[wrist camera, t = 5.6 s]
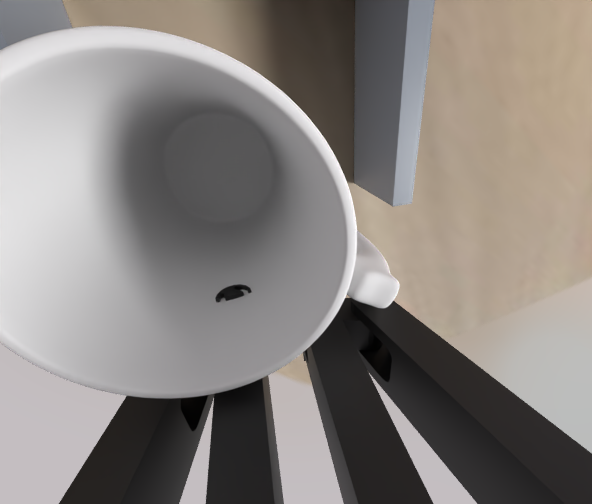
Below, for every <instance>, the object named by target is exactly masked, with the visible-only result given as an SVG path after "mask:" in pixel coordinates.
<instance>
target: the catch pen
mask: <svg viewBox="0 0 592 504" xmlns="http://www.w3.org/2000/svg"><path fill="white" fill-rule="evenodd" d="M434 3H435V0H355V105H354V183H355V184H356V185H358V186H360V187H361V188H363V189H365V190H366V191H368V192H370V193H371V194H373V195H375V196H376V197H378V198H380V199H381V200H383V201H385V202H386V203H388V204H390V205H391V206H398V205H405V204H411V203H412V197H413V188H414V180H415V171H416V162H417V153H418V144H419V135H420V126H421V118H422V109H423V100H424V91H425V82H426V73H427V65H428V56H429V47H430V38H431V29H432V20H433V11H434ZM68 28H72V25H71V23H70V20H69V18H68V15H67V12H66V10H65V7H64V5H63V2H62V0H0V50H1V49H3V48H5V47H8V46H10V45H12V44H14V43H17V42H19V41H22V40H24V39H27V38H30V37H33V36H37V35H40V34H44V33H48V32H52V31H57V30H62V29H68Z"/></svg>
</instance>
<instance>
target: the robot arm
mask: <svg viewBox="0 0 592 504" xmlns="http://www.w3.org/2000/svg"><path fill="white" fill-rule="evenodd" d="M241 290H246V291H248V293H251V292H252V291H251V289H250V287H248V286H246V285H241V284H238V285H232V286H228V287H226V288H224V289H222V290H221V291H220V292H219V293H218V294H217V296H216V298H215V299H216V302H217V303H218V302H220V301H221V299H222V298H225V300H226V301H229V300H233V299H236V298H239V297H242V296H244V292H243V291H241ZM303 355H304V361H306V363H307V367H308V370H309V374H310V378H311V382H312V385H313V389H314V393H315V397H316V400H317V404H318V408H319V411H320V416H321V419H322V423H323V427H324V431H325V434H326V438H327V442H328V446H329V449H330V453H331V457H332V460H333V464H334V468H335V472H336V476H337V480H338V483H339V487H340V491H341V494H342V498H343V502H344V504H433V502H432V500H431V498H430V496H429V494H428V492H427V490H426V488H425V486H424V484H423V482H422V480H421V478H420V476H419V474H418V472H417V470H416V468H415V466H414V464H413V462H412V460H411V458H410V456H409V454H408V452H407V449H406V447H405V446H404V443H403V442H402V439H401V437H400V435H399V433H398V431H397V430H396V427H395V425H394V423H393V421H392V419H391V417H390V415H389V413H388V411H387V409H386V407H385V405H384V403H383V401H382V399H381V397H380V395H379V393H378V391H377V389H376V387H375V385H374V383H373V381H372V379H371V377H370V375H369V373H370V374H371V375H372V377H373V378H374V379H375V380H376V381H377V383H378V384H379V385H380V386H381V387H382V389H383V390H384V391H385V392H386V393H387V395H388V396H389V397H390V398H391V399H392V400H393V402H394V403H395V404H396V406H397V407H398V408H399V409H400V410H401V412H402V413H403V414H404V415H405V416H406V418H407V419H408V420H409V421H410V423H411V424H412V425H413V426H414V427H415V429H416V430H417V431H418V432H419V433H420V435H421V436H422V437H423V438H424V439H425V441H426V442H427V443H428V444H429V445H430V447H431V448H432V449H433V450H434V452H435V453H436V454H437V455H438V456H439V457H440V459H441V460H442V461H443V462H444V464H445V465H446V466H447V467H448V469H449V470H450V471H451V472H452V473H453V475H454V476H455V477H456V478H457V479H458V481H459V482H460V483H461V484H462V485H463V487H464V488H465V489H466V490H467V491H468V493H469V494H470V495H471V496H472V497H473V499H474V500H475V501H476V502H477V504H592V454H591V453H590V452H589V451H587V450H586V449H585V448H584V447H582V446H581V445H580V444H578V443H577V442H576V441H575V440H573V439H572V438H571V437H569V436H568V435H567V434H565V433H564V432H563V431H562V430H560V429H559V428H558V427H556V426H555V425H554V424H553V423H551V422H550V421H548V420H547V419H546V418H545V417H543V416H542V415H541V414H539V413H538V412H537V411H536V410H534V409H533V408H532V407H530V406H529V405H528V404H527V403H525V402H524V401H523V400H521V399H520V398H519V397H517V396H516V395H515V394H514V393H512V392H511V391H510V390H508V389H507V388H506V387H505V386H503V385H502V384H501V383H499V382H498V381H497V380H495V379H494V378H493V377H491V376H490V375H489V374H488V373H486V372H485V371H484V370H483V369H481V368H480V367H479V366H477V365H476V364H475V363H473V362H472V361H471V360H469V359H468V358H467V357H466V356H464V355H463V354H462V353H460V352H459V351H458V350H457V349H455V348H454V347H453V346H451V345H450V344H449V343H448V342H446V341H445V340H444V339H442V338H441V337H440V336H438V335H437V334H436V333H435V332H433V331H432V330H431V329H429V328H428V327H427V326H425V325H424V324H423V323H422V322H420V321H419V320H418V319H416V318H415V317H414V316H413V315H411V314H410V313H409V312H407V311H406V310H405V309H403V308H402V307H401V306H400V305H398V304H397V303H396V302H394V301H393V302H392V303H391V304H390V305H389V306H388V307H386V308H377V307H374V306H371V305H368V304H365V303H361V302H358V301H356V300H354V299H353V298H345V299H344V301H343V303H342V305H341V307H340V309H339V311H338V312H337V314H336V316H335V317H334V319H333V320H332V322H331V323H330V324H329V326H328V327H327V328H326V329H325V331H324V332H323V333H322V334H321V335H320V336H319V338H318V339H317V340H316V341H315V342H314V343H313V344H312V345H311V346H310V347H308V348H307V349H306V350H305V351H304V352H303ZM367 370H368V371H367ZM368 372H369V373H368ZM213 398H214V406H213V418H212V431H211V445H210V458H209V469H208V482H207V495H206V504H284V502H283V494H282V485H281V477H280V469H279V460H278V452H277V444H276V436H275V428H274V419H273V411H272V404H271V395H270V387H269V378H268V376H266V377H263V378H261V379H259V380H257V381H255V382H252V383H249V384H247V385H244V386H241V387H238V388H235V389H232V390H228V391H224V392H220V393H215V394H210V395H204V396H197V397H188V398H143V397H133V396H126V398H125V400H124V401H123V403H122V404H121V406H120V408H119V409H118V411H117V412H116V414H115V416H114V417H113V419H112V420H111V422H110V424H109V425H108V427H107V428H106V430H105V432H104V433H103V435H102V436H101V438H100V439H99V441H98V443H97V444H96V446H95V447H94V449H93V450H92V452H91V454H90V455H89V457H88V459H87V460H86V462H85V463H84V465H83V466H82V468H81V470H80V471H79V473H78V474H77V476H76V478H75V479H74V481H73V482H72V484H71V485H70V487H69V489H68V490H67V492H66V493H65V495H64V497H63V498H62V500H61V501H60V503H59V504H179V502H180V499H181V496H182V493H183V490H184V487H185V484H186V481H187V478H188V475H189V472H190V468H191V465H192V462H193V459H194V456H195V453H196V450H197V447H198V444H199V441H200V438H201V435H202V432H203V429H204V426H205V422H206V420H207V417H208V413H209V410H210V408H211V404H212V401H213Z"/></svg>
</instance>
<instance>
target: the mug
mask: <svg viewBox="0 0 592 504" xmlns="http://www.w3.org/2000/svg"><path fill="white" fill-rule="evenodd" d="M238 284H241V285H246V286H248V287H250V289H251V291H252V292H251V293H248V291H246V290H241V291H243V292H244V296H242V297H239V298H236V299H233V300H229V301H226V300H225V298H222V299H221V301H220V302H218V303H217V302H216V299H215V298H216V296H217V294H218V293H219V292H220V291H221V290H222V289H224V288H226V287H228V286H232V285H238ZM398 290H399V282H398V281H397V279H396V278H394V277H393V276H392V275H391V273H390V270H389V267H388V264H387V262H386V260H385V258H384V257H383V255H382V254H381V253H380V251H379V250H378V249H377V248H376V247H375V246H374V245H373V244H372V243H371V242H370V241H369V240H368V239H367V238H366V237H364V236H363V235H362V234H361V233H360V232H359V231H357V227H356V218H355V211H354V206H353V201H352V197H351V194H350V190H349V187H348V184H347V181H346V179H345V176H344V174H343V171H342V169H341V167H340V165H339V163H338V161H337V159H336V157H335V155H334V153H333V151H332V150H331V148H330V146H329V145H328V143H327V141H326V140H325V139H324V137H323V136H322V134H321V133H320V131H319V130H318V129H317V127H316V126H315V125H314V124H313V122H312V121H311V120H310V119H309V118H308V116H307V115H306V114H305V113H304V112H303V111H302V110H301V109H300V108H299V107H298V106H297V105H296V104H295V103H294V102H293V101H292V100H291V99H290V98H289V97H288V96H287V95H286V94H285V93H284V92H282V91H281V90H280V89H279V88H278V87H276V86H275V85H274V84H273V83H271V82H270V81H269V80H267V79H266V78H265V77H263V76H262V75H260V74H259V73H257V72H256V71H254V70H253V69H251V68H250V67H248V66H246V65H245V64H243V63H241V62H239V61H238V60H236V59H234V58H232V57H230V56H228V55H226V54H224V53H222V52H220V51H217V50H215V49H213V48H211V47H208V46H206V45H203V44H201V43H198V42H195V41H192V40H189V39H186V38H183V37H179V36H176V35H172V34H168V33H163V32H159V31H154V30H148V29H142V28H133V27H122V26H87V27H77V28H68V29H62V30H57V31H52V32H48V33H44V34H40V35H37V36H33V37H30V38H27V39H24V40H22V41H19V42H17V43H14V44H12V45H10V46H8V47H5V48H3V49H1V50H0V343H1V344H2V345H4V346H5V347H7V348H8V349H9V350H11V351H12V352H14V353H15V354H17V355H19V356H20V357H22V358H23V359H25V360H27V361H28V362H30V363H32V364H34V365H36V366H38V367H40V368H42V369H44V370H46V371H48V372H50V373H52V374H54V375H57V376H59V377H62V378H64V379H66V380H69V381H71V382H74V383H78V384H80V385H84V386H86V387H90V388H93V389H97V390H101V391H105V392H110V393H115V394H120V395H126V396H133V397H143V398H188V397H197V396H204V395H210V394H215V393H220V392H224V391H228V390H232V389H235V388H238V387H241V386H244V385H247V384H249V383H252V382H255V381H257V380H259V379H261V378H263V377H266V376H268V375H270V374H271V373H273V372H275V371H277V370H279V369H280V368H282V367H283V366H285V365H287V364H288V363H290V362H291V361H292V360H294V359H295V358H297V357H298V356H299V355H300V354H302V353H303V352H304V351H305V350H306V349H307V348H308V347H310V346H311V345H312V344H313V343H314V342H315V341H316V340H317V339H318V338H319V336H320V335H321V334H322V333H323V332H324V331H325V329H326V328H327V327H328V326H329V324H330V323H331V322H332V320H333V319H334V317H335V316H336V314H337V312H338V311H339V309H340V307H341V305H342V303H343V301H344V299H345V297H346V294H347V295H348V296H350V297H351V298H353V299H354V300H356V301H358V302H361V303H365V304H368V305H371V306H374V307H377V308H386V307H388V306H389V305H390V304H391V303H392V302H393V300H394V299H395V297H396V295H397V293H398Z"/></svg>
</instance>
